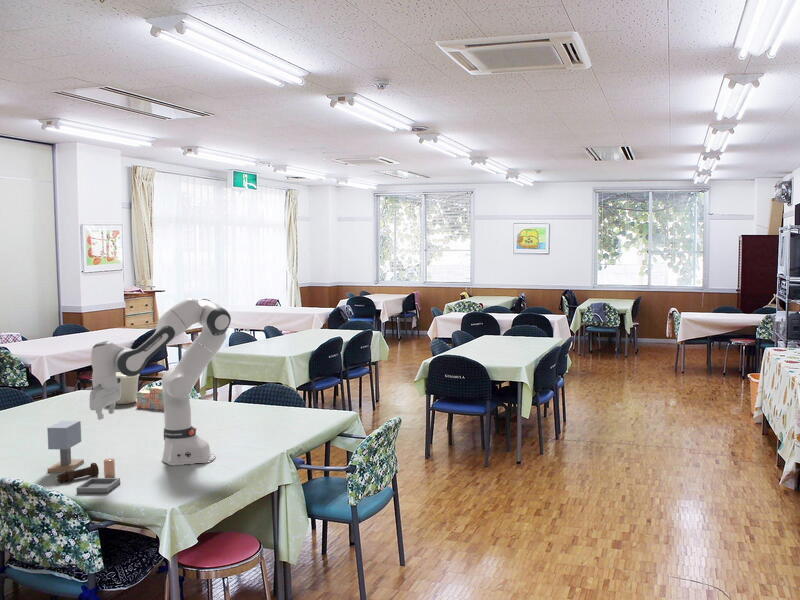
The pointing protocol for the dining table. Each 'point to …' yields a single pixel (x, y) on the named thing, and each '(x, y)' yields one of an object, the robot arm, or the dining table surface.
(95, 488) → the parts tray
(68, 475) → the bolt
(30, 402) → the dining table surface
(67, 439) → the mounted unit
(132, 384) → the canister
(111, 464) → the peach rounded cylinder
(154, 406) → the stack of blocks
